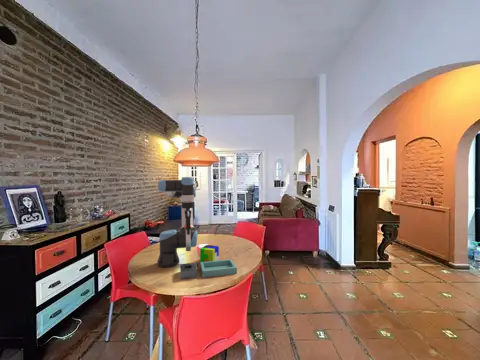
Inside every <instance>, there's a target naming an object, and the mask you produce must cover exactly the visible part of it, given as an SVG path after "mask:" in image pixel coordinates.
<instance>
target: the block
mask: <svg viewBox="0 0 480 360" xmlns="http://www.w3.org/2000/svg"><path fill="white" fill-rule="evenodd" d="M179 264H180V265H179V266H180V267H179V268H180V270H179V273H180V275H179V276H180V280H189V279H195V278H198V266H197V262H189V263H186V262H185V263H179Z"/></svg>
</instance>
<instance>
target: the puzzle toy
mask: <svg viewBox="0 0 480 360" xmlns="http://www.w3.org/2000/svg"><path fill="white" fill-rule="evenodd" d="M219 255H220V248H219V245H218V246H217V245H210V244H205V245H204V246H203V247H201V248H200V249H199V257H200V258H199V260H200V262H208V261H218V260H220V256H219ZM200 262H199V263H200Z"/></svg>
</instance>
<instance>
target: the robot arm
mask: <svg viewBox="0 0 480 360" xmlns="http://www.w3.org/2000/svg"><path fill="white" fill-rule="evenodd" d="M195 187H196V186H195V182H194V177H193V176H183V177H181V179H159V180H158V182H157V190H158V192H160V193H161V192H163V194H164V195H165V196H167V197H168V198H173V199H179V201H181V202H180V203H181V227H180V229H179V231H177V229H167V230H164V231H162V232H160V234H159V253H158V254H159V255H158V258H157V261H156V262H157V264H156V266H157V267H159V268H172V267H175V266H177V265H179V264H180V258H179V255H178V249H186V240H191V248H195V247H196V246H197V244H198V234H199V233H198V230H197V229H196V227H195V226H194V207H195V202H194V201H195V198H196V197H197V193H196V188H195ZM184 225H186V229H184ZM191 225H192V229H191Z"/></svg>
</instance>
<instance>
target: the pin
mask: <svg viewBox="0 0 480 360" xmlns="http://www.w3.org/2000/svg"><path fill="white" fill-rule="evenodd" d="M184 229H186V225H184ZM191 229H192V225H191ZM191 250H192V247H191V240H186V248H185V251H186V252H191Z"/></svg>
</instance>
